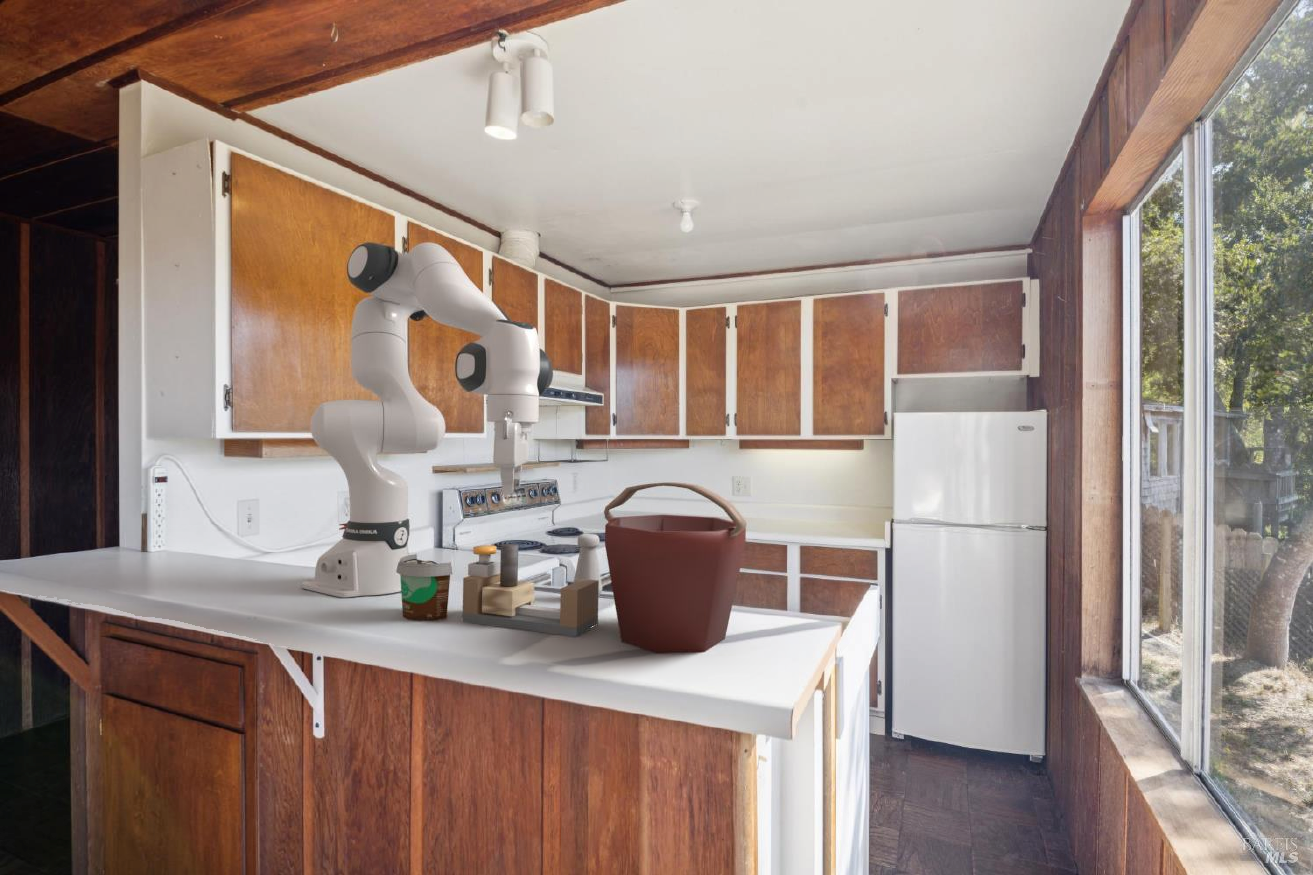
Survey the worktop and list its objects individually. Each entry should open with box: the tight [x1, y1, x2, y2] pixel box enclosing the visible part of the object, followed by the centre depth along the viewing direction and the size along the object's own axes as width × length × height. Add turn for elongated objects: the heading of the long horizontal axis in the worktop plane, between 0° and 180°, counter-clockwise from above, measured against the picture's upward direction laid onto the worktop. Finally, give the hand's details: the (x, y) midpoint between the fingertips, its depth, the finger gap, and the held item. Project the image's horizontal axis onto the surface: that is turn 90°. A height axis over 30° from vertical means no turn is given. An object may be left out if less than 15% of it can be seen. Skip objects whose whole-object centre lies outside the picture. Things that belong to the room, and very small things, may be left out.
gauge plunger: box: [472, 544, 497, 565], centre depth 115 cm, size 4×4×3 cm
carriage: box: [482, 543, 535, 616], centre depth 114 cm, size 6×7×11 cm
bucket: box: [603, 481, 748, 654], centre depth 106 cm, size 24×22×25 cm
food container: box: [396, 553, 453, 622], centre depth 114 cm, size 12×6×10 cm, turn 50°
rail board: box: [462, 560, 599, 638], centre depth 112 cm, size 22×8×10 cm, turn 70°
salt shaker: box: [573, 533, 603, 599], centre depth 128 cm, size 6×6×13 cm
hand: (511, 491), depth 114 cm, fingers open, 8 cm apart
